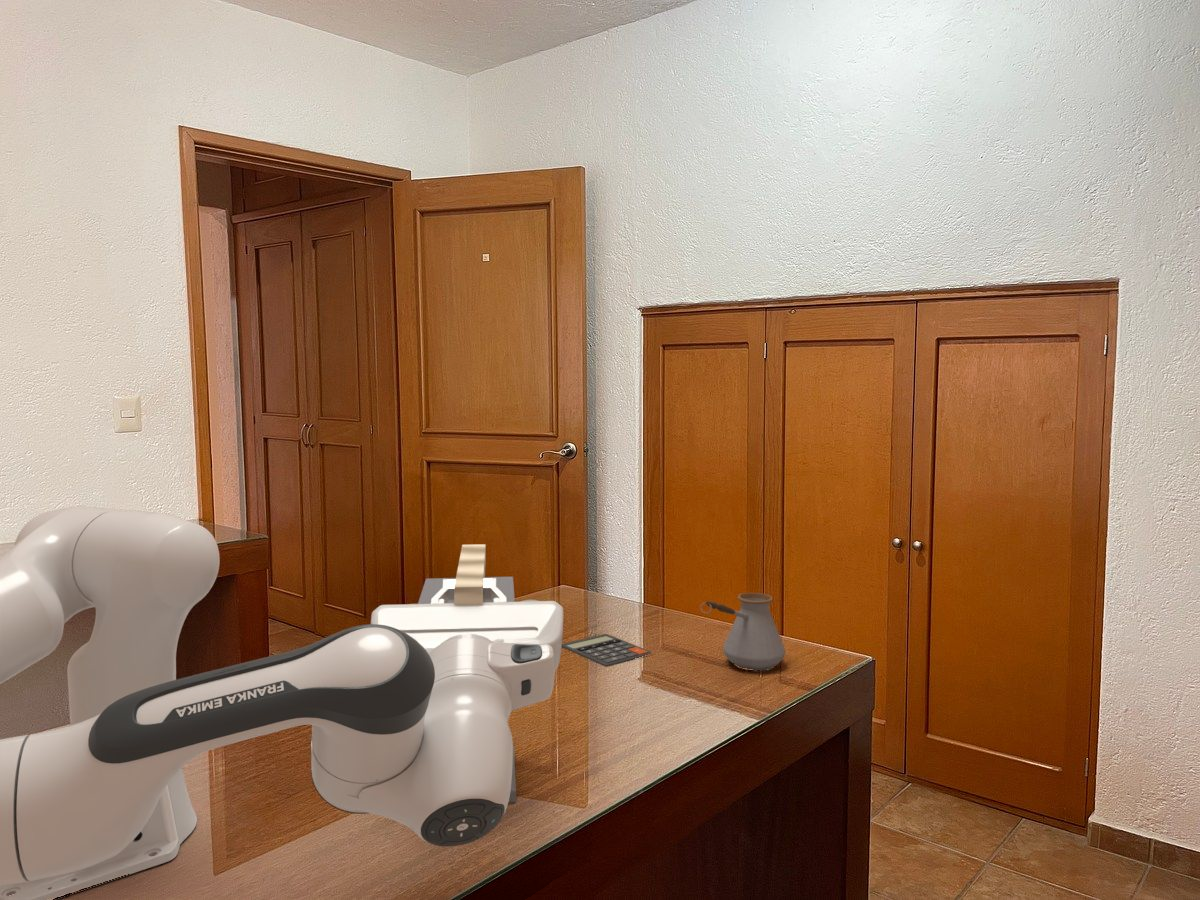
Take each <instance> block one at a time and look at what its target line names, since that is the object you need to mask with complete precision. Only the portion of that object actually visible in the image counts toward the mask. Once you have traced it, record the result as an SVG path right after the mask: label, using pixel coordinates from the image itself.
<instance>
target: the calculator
mask: <svg viewBox="0 0 1200 900" xmlns="http://www.w3.org/2000/svg"><path fill="white" fill-rule="evenodd" d="M562 648H563V649H565V650H568V651H569V652H571V653H574V654H576V655H579V656H581V657H583V658H585V659H588V660H589V659H590V660H589V661H591V662H594V663H596V664H599V665H601V666H603V667H605V668H606V667H607V668H608V667H611V666H615V665H618V664H622V663H623V664H624V663H625V662H626V661H627V662H630V660H631V661H634V660H633V659H635V658H639V657H642V656H645V655H648V654H651V652H652V651H650V650H648V649H646V648H642V647H640V646H638V645H635V644H634V643H631V642H628V641H625V640H623V639H621V638H618V637H615V636H613V635H611V634H608V633H603V634H599V635H594V636H590V637H586V638H582V639H578V640H573V641H569V642H564V643H562ZM562 648H561V649H562ZM642 658H643V657H642ZM639 659H640V658H639ZM635 660H636V659H635ZM627 662H626V663H627Z"/></svg>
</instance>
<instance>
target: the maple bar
mask: <svg viewBox="0 0 1200 900" xmlns="http://www.w3.org/2000/svg"><path fill="white" fill-rule="evenodd" d="M486 548H487V547H486V543H485V544H484V543H483V544H479V543H478V544H476V543H475V544H473V543H472V544H462V545H461V549H460V556H459V560H458V566H457V570H456V576H455V578H456V580H455V585H454V604H483V578H485V577H486V565H487V563H486V561H487V560H486V559H487V557H486V554H487V552H486Z"/></svg>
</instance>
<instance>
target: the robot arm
mask: <svg viewBox="0 0 1200 900" xmlns="http://www.w3.org/2000/svg"><path fill="white" fill-rule="evenodd" d="M14 541H15V542H14V544H13V546H12V547H11V548H9V549H8V550H7V551H6V552H4V553H3V554H1V555H0V685H1V684H3V683H5V682H6V681H8V680H10V679H11V678H13V677H15V676H17V674H20V673H21V672H22V671H25V670H26V669H27V668H29V667H31V666H33V665H35V664H36V663H39V661H41V660H42V659H45V657H47V656H50V654H52V653H53V652H54V651H55V650H56V649H57V647H58V646H59V644H60V642H61V641H62V638H63V636H64V635H63V634H64V629H65V628H64V627H65V623H67V622H68V621H69V620H70V619H71V618H73V616H74V615H77V614H78V613H80V612H82V611H84V610H87V609H88V610H89V609H91V608H95V620H94V624H93V629H92V632H91V636H90V638H89V640H88V642H86V643H84V644H83V645H81V646H80V648H77V650H75V651H74V653H73V654H72V656H71V657H70V659H69V661H68V664H67V669H66V673H67V689H68V707H69V709H68V710H69V722H70V723H69V725H68V726H65V727H60V728H57V729H52V730H47V731H43V732H37V733H30V734H23V735H18V736H12V737H7V738H0V900H47V899H52V898H56V897H58V896H61V895H63V894H66V893H70V892H72V891H76V890H79V889H82V888H86V887H88V886H92V885H96V884H99V883H102V884H104V883H103V882H105V881H108V882H110V881H109V880H111V881H113V880H112V879H114V878H117V877H120V878H122V877H121V876H123V877H125V876H124V875H126V876H129V875H132V874H135V873H137V872H138V873H139V872H141V871H144V870H147V869H150V868H153V867H156V866H159V865H161V864H165V863H167V862H170V861H171V860H173V859H175V858H176V856H178V853H179V850H180V846H181V844H182V843H183V842H184V841H185V840H186V839H187V838H188V837H189V836H190V834H191V833H193V831H194V830H195V829H196V825H197V822H198V817H197V816H198V815H197V814H196V812H195V809H194V807H193V805H192V802H191V799H190V795H189V792H188V787H187V784H186V780H185V774H184V769H183V767H184V766H185V765H187V764H188V763H189V762H191V761H192V760H193V759H195V758H196V757H199V756H200V755H202V754H204V753H206V752H208V751H211V750H215V749H217V748H220V747H225V746H228V745H232V744H235V743H239V742H243V741H246V740H249V739H250V740H251V739H254V738H257V737H260V736H261V737H262V736H265V735H270V734H273V733H277V732H280V731H284V730H288V729H291V728H294V727H299V726H304V725H305V726H306V725H311V740H310V756H311V757H310V764H311V765H310V766H311V771H310V772H311V773H310V774H311V780H312V784H313V787H314V789H315V791H316V793H317V794H318V795H319V796H320V798H321V799H322V800H323V801H324V802H325V803H326V804H328V805H329V806H331V807H333V808H335V809H336V810H339V811H342V812H345V813H350V814H357V815H360V814H361V815H363V814H364V815H365V814H372V815H376V816H379V817H383V818H387V819H390V820H391V821H392V820H393V821H395V822H398V824H399V823H400V824H402V825H404V826H406V827H407V828H409V829H411V830H412V831H413V832H414V833H415V834H416V835H417V836H418V837H419V839H422V841H424V842H425V843H427V844H429V845H432V846H437V847H458V846H464V845H467V844H470V843H473V842H475V841H477V840H479V839H481V838H483V837H485V836H487V835H488V834H489V833H491V832H492V831H493V830H494V829H495V828H496V827H497V826H498V824H499V823H500V822H501V820H502V819H503V817H504V815H505V813H506V811H507V808H508V806H509V805H508V804H509V803H508V802H509V797H510V791H511V781H512V765H513V743H514V742H513V734H512V732H511V729H510V726H509V720H510V715H511V713H512V712H515V711H517V710H519V709H521V708H526V707H528V706H531V705H534V704H537V703H541V702H544V701H546V700H547V701H548V700H549V699H550V698H551V697H552V694H553V690H554V686H555V679H556V678H555V677H556V671H557V669H558V667H559V664H560V662H561V655H562V644H563V634H564V633H563V632H564V608H563V606H562V605H560V604H559V603H558V602H557V601H555V600H541V601H540V600H537V601H529V602H521V601H515V602H506V596H505V595H504V594H503V593H502V592H501V591H500V590H499V589H498V588H496V578H483V599H491V601H492V602H485V603H483V604H454V603H447V602H448V601H449V600H454V585H455V580H456V579H443V587H442V589H441V590H440V591H439V592H438V593H437V594H436V595H435V596H434V597H433V598H432V599H431V604H418V603H409V604H408V603H406V604H403V603H402V604H397V603H396V604H381V605H379V606H378V607H376V608H375V609H373V611H372V612H371V616H370V623H369V624H368V623H367V624H360V625H356V626H355V625H354V626H352V627H348V628H346V629H343V630H340V631H338V632H335V633H333V634H330V635H329V636H326V637H324V638H322V639H319V640H318V641H315V642H313V643H310V644H308V645H305V646H302V647H299V648H295V649H292V650H289V651H285V652H281V653H277V654H273V655H270V656H269V655H268V656H267V657H266V656H265V657H261V658H257V659H253V660H249V661H246V662H241V663H236V664H233V665H229V666H225V667H221V668H216V669H213V670H209V671H205V672H201V673H197V674H192V675H189V676H185V677H181V678H177V648H178V644H179V643H178V642H179V638H180V635H181V632H182V628H183V626H184V623H185V620H186V619H187V616H188V615H189V613H190V611H191V610H192V609H193V607H194V606H195V605H197V604H198V603H200V601H202V600H203V599H204V598H205V597H206V596H207V594H209V592H210V590H211V589H212V587H213V586H214V584H215V582H216V580H217V577H218V574H219V569H220V562H221V561H220V559H221V558H220V551H219V546H218V543H217V541H216V539H215V537H214V535H213V534H212V533H211V532H210V531H209V530H208V529H207V528H205V527H204V526H202V525H200V524H198V523H195V522H193V521H190V520H188V519H185V518H183V517H180V516H177V515H174V514H170V513H164V512H153V511H152V512H151V511H142V510H135V509H134V510H133V509H132V510H131V509H117V508H108V507H107V508H106V507H104V508H103V507H94V506H83V505H79V506H72V507H66V508H64V507H63V508H59V509H54V510H49V511H46V512H42V513H39V514H38V515H35V516H34V517H32V518H30V520H29V521H27V522H26V524H24V525H23V527H22V528H20V531H19V533H18V535H17V537H16V539H15V540H14ZM128 874H129V875H128ZM117 879H118V878H117ZM114 880H115V879H114ZM105 883H106V882H105ZM99 885H100V884H99ZM96 886H97V885H96ZM12 894H14V895H12ZM9 895H11V896H9Z"/></svg>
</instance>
